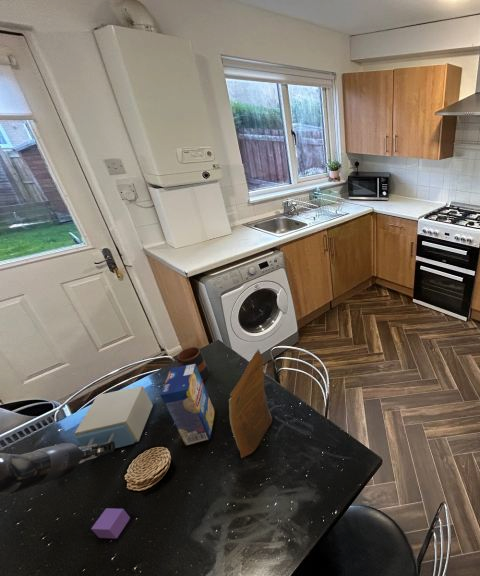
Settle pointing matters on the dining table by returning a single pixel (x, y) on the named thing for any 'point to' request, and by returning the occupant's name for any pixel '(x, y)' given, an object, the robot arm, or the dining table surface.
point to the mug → (193, 360)
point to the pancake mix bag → (249, 407)
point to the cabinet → (118, 411)
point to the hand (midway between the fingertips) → (94, 450)
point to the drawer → (107, 436)
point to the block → (110, 523)
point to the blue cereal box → (188, 403)
